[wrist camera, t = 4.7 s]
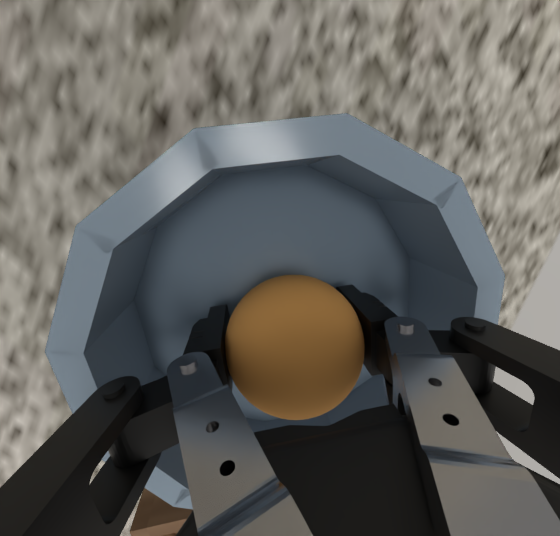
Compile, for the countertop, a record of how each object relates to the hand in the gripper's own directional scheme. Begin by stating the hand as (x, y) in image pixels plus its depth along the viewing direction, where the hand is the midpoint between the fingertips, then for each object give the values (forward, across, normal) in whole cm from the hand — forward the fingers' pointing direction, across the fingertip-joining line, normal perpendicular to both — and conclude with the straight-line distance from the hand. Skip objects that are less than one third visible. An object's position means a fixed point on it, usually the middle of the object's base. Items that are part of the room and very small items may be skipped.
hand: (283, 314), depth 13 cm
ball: (-2, 0, 0) cm, 2 cm away
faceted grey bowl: (+2, 0, 0) cm, 2 cm away
